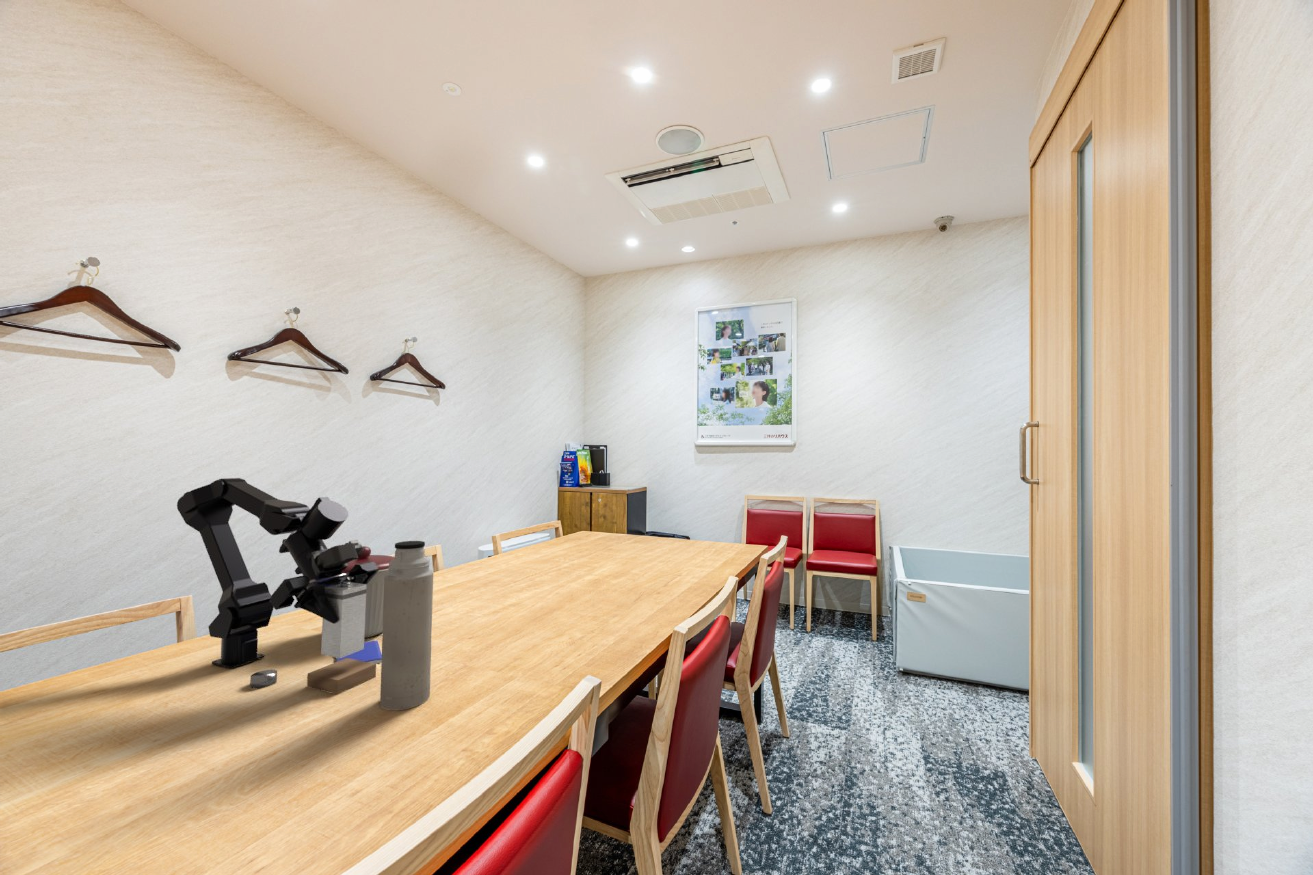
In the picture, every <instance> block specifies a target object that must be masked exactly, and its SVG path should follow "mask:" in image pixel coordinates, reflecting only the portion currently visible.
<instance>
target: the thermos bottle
mask: <svg viewBox="0 0 1313 875" xmlns="http://www.w3.org/2000/svg"><path fill="white" fill-rule="evenodd" d="M425 544H426V542H425V541H423V540H405V541H398V542H396V543H394V548H395V551H394V557H395V559H393V560H392V561H390V562H389V568H388V570H389V573H387V574H386V575H385V576H384V600H383V631H382V633H381V636H382V637H381V654H382V662H381V663H380V666H381V667H380V696H379V697H380V698H379V699H380V700H379V703H380V705H379V706H380V707H381V708H382V709H384V710H386V711H404V710H408V709H412V708H415V707H418V706H420V705H422V704H424V703H425V702H427V701H428V700H429V698H430V696H431V666H432V663H431V662H432V630H433V629H432V627H433V626H432V625H433V602H434V601H433V598H434V596H433V595H434V571H433V570H431V569H430V565H431V562H430V559H429V558H428V557H426V556H425V552H426V551H425V550H426V549H425V546H426V545H425Z"/></svg>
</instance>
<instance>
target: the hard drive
mask: <svg viewBox="0 0 1313 875" xmlns="http://www.w3.org/2000/svg"><path fill="white" fill-rule="evenodd" d="M335 658H336V657H335ZM345 658H350V659H355V660H360V661H365V662H369V663H374V664H376V665H377V664H381V662H382V650H381V647H380V644H379V641H378V640H369V641H364V649H363V650H360V651H357V652H355V653H352V654H350V655H347V656H345V657H342V658H336V662H338V661H340V660H343V659H345Z"/></svg>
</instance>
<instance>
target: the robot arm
mask: <svg viewBox="0 0 1313 875" xmlns="http://www.w3.org/2000/svg"><path fill="white" fill-rule="evenodd" d="M233 506H237V507H239V508H241V509H242V510H244V511H246V512H247V513H249V514H252V516H255V517H256V518H258V519H259V522H258V523H259V525H260V527H261V528H263V529H264V530H265V531H266V532H267V533H269V534H270V535H272V536H278V535H285V534H289V535H288V537H287V538H284V539H283V540H282V543H281V545H280V546H279V550H278V552H279V554H285V553H290V555H291V557H292V559H293V561H294V562H295V564H296V566H297V567H296V568H295V570H294V573H295V574H296V575H297V576H295V577H289V578H285V579H283V581H282V582H281V583H280V584H279V585H278V586H277V588H276V589H275V590H274V592H273V593H272V595H271V592H270V591H269V587H268V584H267V583H266V582H260V583H257V582H255V581H254V580H252V578H251V575H250V573H249V570H248V568H247V565H246V563H245V560H244V557H243V556H242V553H241V551H240V548H239V546H238V543H237V540H236V538H235V535H234V533H233V531H232V528H231V526H230V523H229V521H230V519H231V517H232V514H233V511H234V508H233ZM176 507H177V511H178V512H179V514H180V516H181V517H182V519H183V522H184V523H185V524H186V525H187V526H189V527H191V528H193V530H195V531H197V532H199V533H200V534H199V535H200V536H201V539H202V541H203V544H204V546H205V549H206V551H207V554H208V557H209V559H210V562H211V564H212V567H213V569H214V572H215V575H216V578H217V580H218V583H219V585H220V588H221V591H222V594H221V596H220V600H219V603H218V605H217V609H218V612H219V613H218V614H217V616H215V618H213V620H212V622H211V623H210V624H209V625H208V626H207V628H208V630H209V631H208V632H209V637H211V638H218V639H221V640H220V642H221V644H220V658H218V659H216V660H212V662H211V664H212V665H215V666H217V667H218V666H219V667H221V668H222V667H223V668H227V669H234V668H237V667H240V666H242V665H245V664H248V663H251V662H255V661H257V660H260V659H263V658H265V654H263V653H258V644H259V643H258V641H259V639H258V635H259V634H258V632H259V631H258V630H259V629H262V628H266V627H268V626H269V624H270V621H271V617H272V615H273V611H274V610H275V611H277V610H281V609H285V608H288V607H289V608H290V607H291V606H292V605H293V608H295V609H302V610H305V611H306V612H309V613H312V614H314V615H315V616H318V617H320V618H322V620H323V619H325V620H327V621H329V622H331V623H333V624H334V623H336V622H337V621H338V618H337V615H336V613H335V611H334V609H333V608H332V606H331V604H330V602H329V601H328V599H327V597H326V595H325V587H329V586H333V585H337V584H341V583H343V582H352V583H359V584H366V585H367V583H368V582H369V581H370V580H371V579H372V578H373V576H374V575H375V574H376V573H377V572H378V571H379V569H378V567H377V566H376V564H375V563H374V562H370V561H369V562H365V563H360V564H355V566H354V567H353V568H352V569H351V570H350V572H349V573H344V574H342V570H345V569H346V568H347V567H348V565H347V563H348V562H350V561H352V560H356V559H358V556H359V555H361V554H362V553H363V548H362V546H363V545H362V544H361V543H360V541H359V540H358V539H353V540H349V542H346V543H344V544H339V545H335V546H331V547H330V548H328V546H327V545H326V544H325V542H324V541H326V540H329V539H330V538H332V536H333V535H335V533H336V532H337V531H338V530H339V528H340V527H341V526H342V525H343V523H345V521H346V520H347V519H348V517H349V510H348V509H347V508H346V507H345V506H343V505H341V504H340V503H338V502H336V501H333V500H331V499H330V498H329V497H328V496H321V497H318V498H317V499H316V500H315V501H314V504H312V506H311V507H309V506H308V505H306V504H305V503H301V502H297V501H292V500H291V501H290V500H282V499H278V498H276V497H274V496H273V495H271V494H269V493H267V492H266V491H264V490H261V489H259V488H258V487H255V486H254V485H252V484H249V483H248V482H247V481H246V479H243V478H241V477H240V478H239V477H234V478H231V477H229V478H219V479H216V480H215V481H214V480H213V481H212V482H211V483H209V484H206V485H203V486H200V487H196V488H194V489H192V490H190V491H186V492H185V493H183V495H182V496H180V497H179V499H178V500H177V503H176ZM323 540H324V541H323ZM298 575H299V576H298ZM294 597H295V598H294ZM295 600H296V602H295ZM294 602H295V603H294ZM293 603H294V604H293Z"/></svg>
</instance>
